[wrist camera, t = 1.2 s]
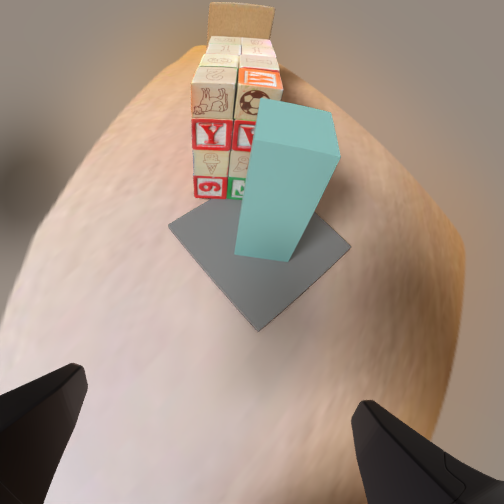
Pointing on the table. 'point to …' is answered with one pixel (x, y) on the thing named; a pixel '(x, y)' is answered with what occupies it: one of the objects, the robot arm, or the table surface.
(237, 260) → the charcoal mat
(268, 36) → the sandwich container
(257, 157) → the teal block
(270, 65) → the stack of blocks
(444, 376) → the table surface
